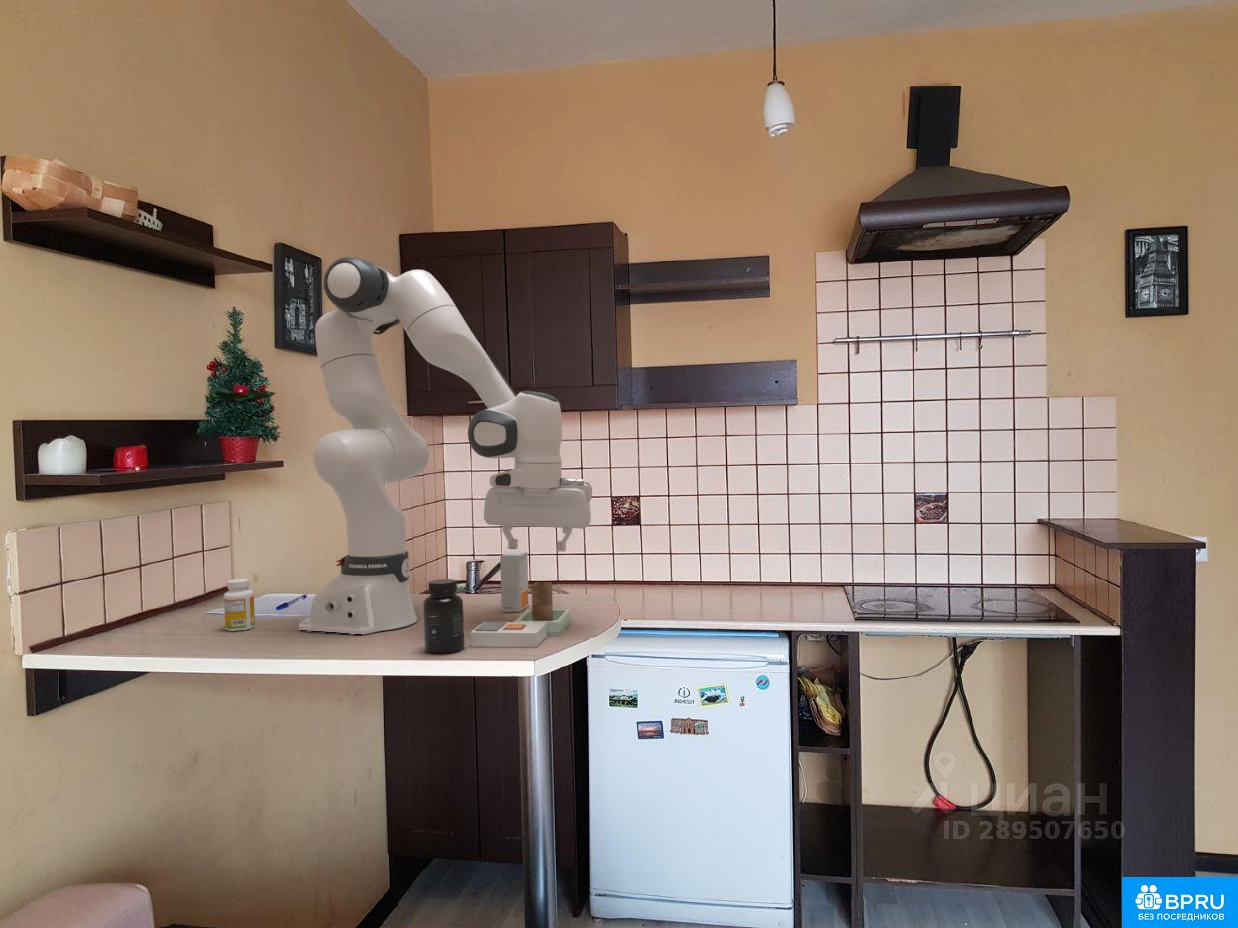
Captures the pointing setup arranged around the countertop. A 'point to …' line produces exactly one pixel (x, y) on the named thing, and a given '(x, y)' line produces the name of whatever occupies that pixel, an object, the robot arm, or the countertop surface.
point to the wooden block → (542, 601)
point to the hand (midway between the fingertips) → (536, 549)
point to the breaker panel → (508, 635)
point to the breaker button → (514, 627)
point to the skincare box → (514, 581)
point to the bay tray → (553, 627)
